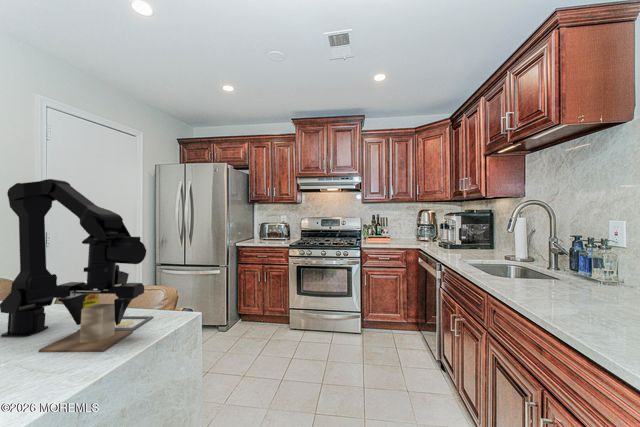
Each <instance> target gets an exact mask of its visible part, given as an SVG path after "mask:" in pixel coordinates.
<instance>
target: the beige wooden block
mask: <svg viewBox="0 0 640 427" xmlns="http://www.w3.org/2000/svg"><path fill="white" fill-rule="evenodd" d="M115 328H116V323H115V307H114V303H98V304H94V305H91V306H89V307H86V308H84V309H82V312H81V324H80V328H79V329H80V343H101V342H103V341H105V340H107V339H108V338H110V337H112V336H113V335H114V332H115Z"/></svg>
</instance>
